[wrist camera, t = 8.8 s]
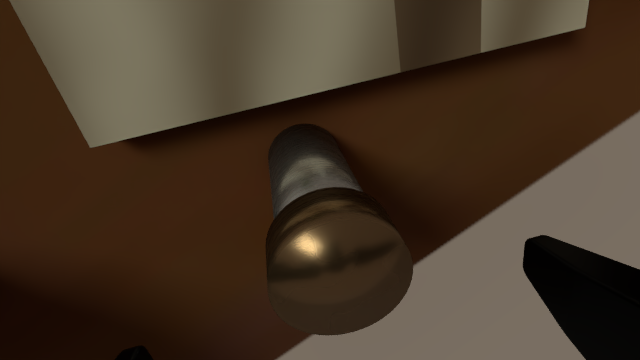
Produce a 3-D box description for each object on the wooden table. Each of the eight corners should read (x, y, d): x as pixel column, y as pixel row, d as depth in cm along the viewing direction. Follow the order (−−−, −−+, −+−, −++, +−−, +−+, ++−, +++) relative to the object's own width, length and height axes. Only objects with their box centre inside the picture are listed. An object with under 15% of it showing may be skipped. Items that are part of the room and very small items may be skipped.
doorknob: (273, 203, 16) (287, 350, 10) (250, 128, 15) (248, 245, 8) (351, 183, 17) (417, 313, 10) (337, 107, 15) (407, 203, 8)
